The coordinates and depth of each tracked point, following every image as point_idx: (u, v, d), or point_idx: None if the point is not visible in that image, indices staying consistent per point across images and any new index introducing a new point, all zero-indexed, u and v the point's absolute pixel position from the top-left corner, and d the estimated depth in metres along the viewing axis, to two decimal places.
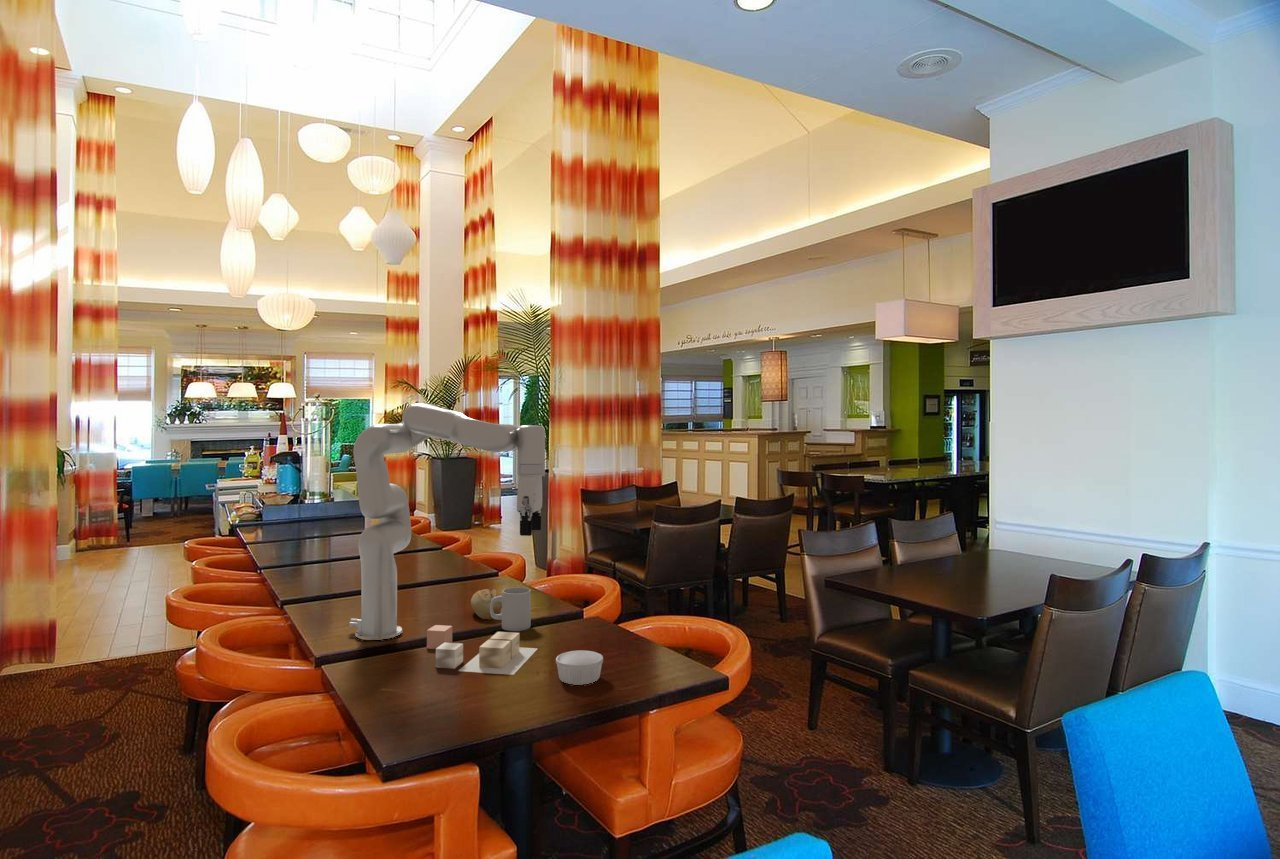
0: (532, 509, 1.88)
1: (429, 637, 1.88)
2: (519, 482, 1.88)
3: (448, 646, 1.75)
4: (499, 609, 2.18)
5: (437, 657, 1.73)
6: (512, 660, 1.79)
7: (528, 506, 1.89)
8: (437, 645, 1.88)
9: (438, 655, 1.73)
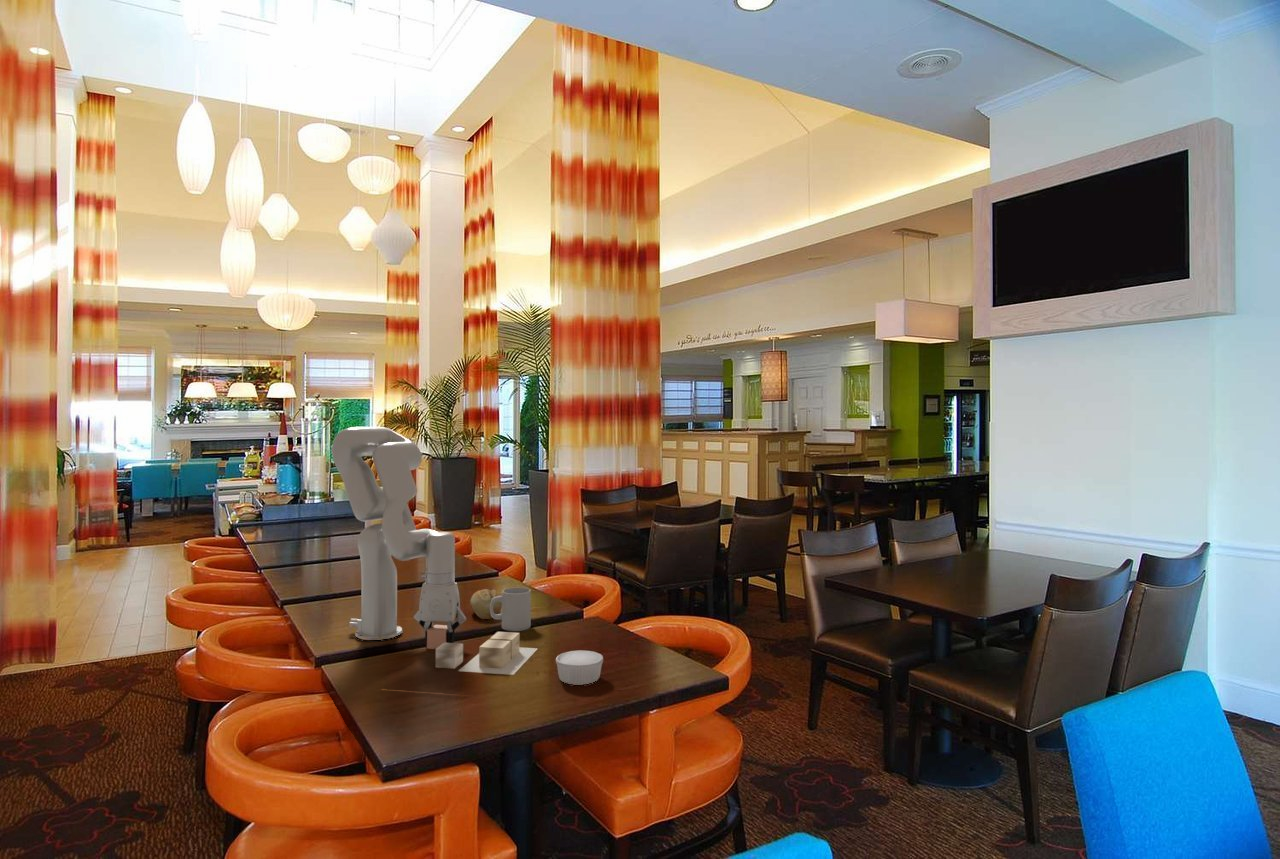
0: None
1: (429, 637, 1.88)
2: (452, 591, 1.88)
3: (448, 646, 1.75)
4: (498, 609, 2.18)
5: (437, 657, 1.73)
6: (512, 660, 1.79)
7: None
8: (437, 645, 1.88)
9: (438, 655, 1.73)
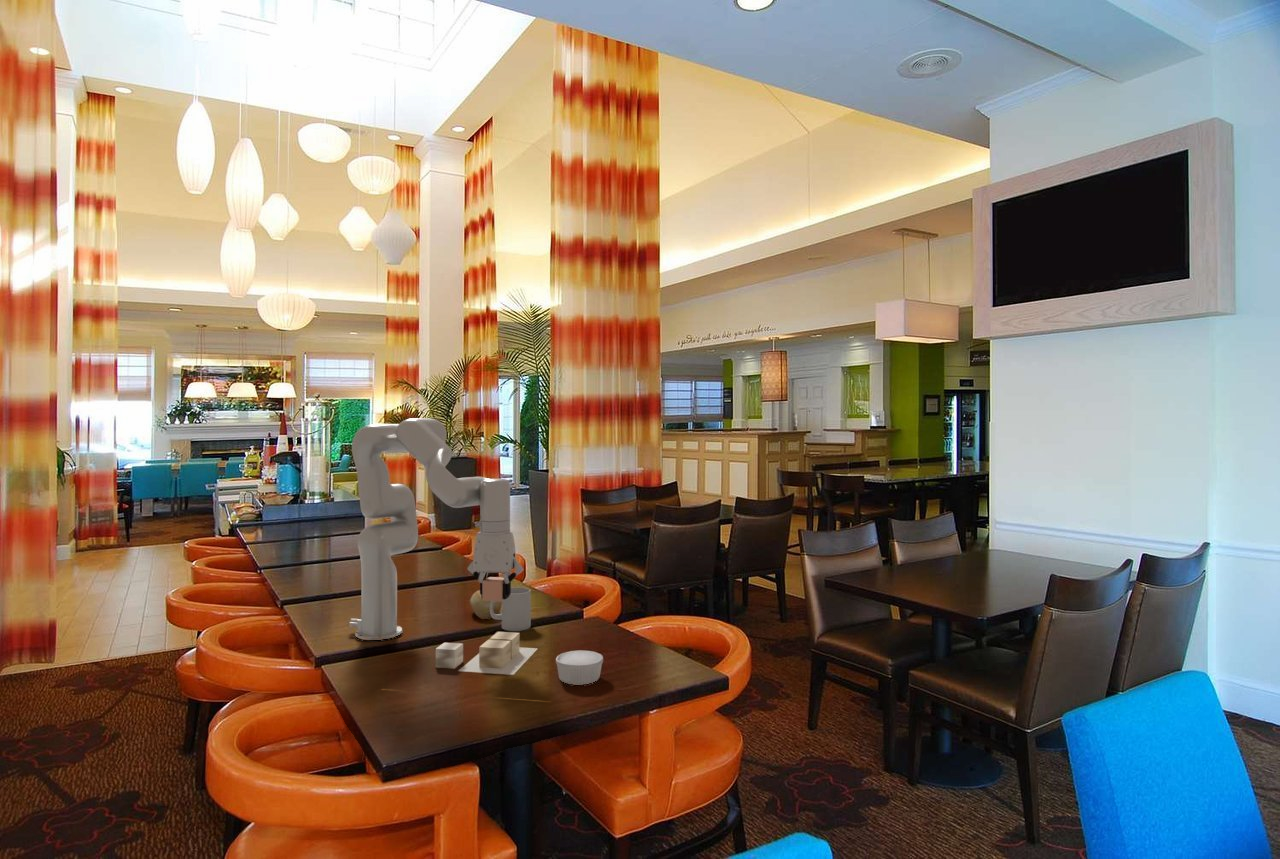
0: None
1: (485, 588, 1.78)
2: (509, 540, 1.78)
3: (448, 646, 1.75)
4: (498, 609, 2.18)
5: (437, 657, 1.73)
6: (512, 660, 1.79)
7: None
8: (493, 596, 1.78)
9: (438, 655, 1.73)
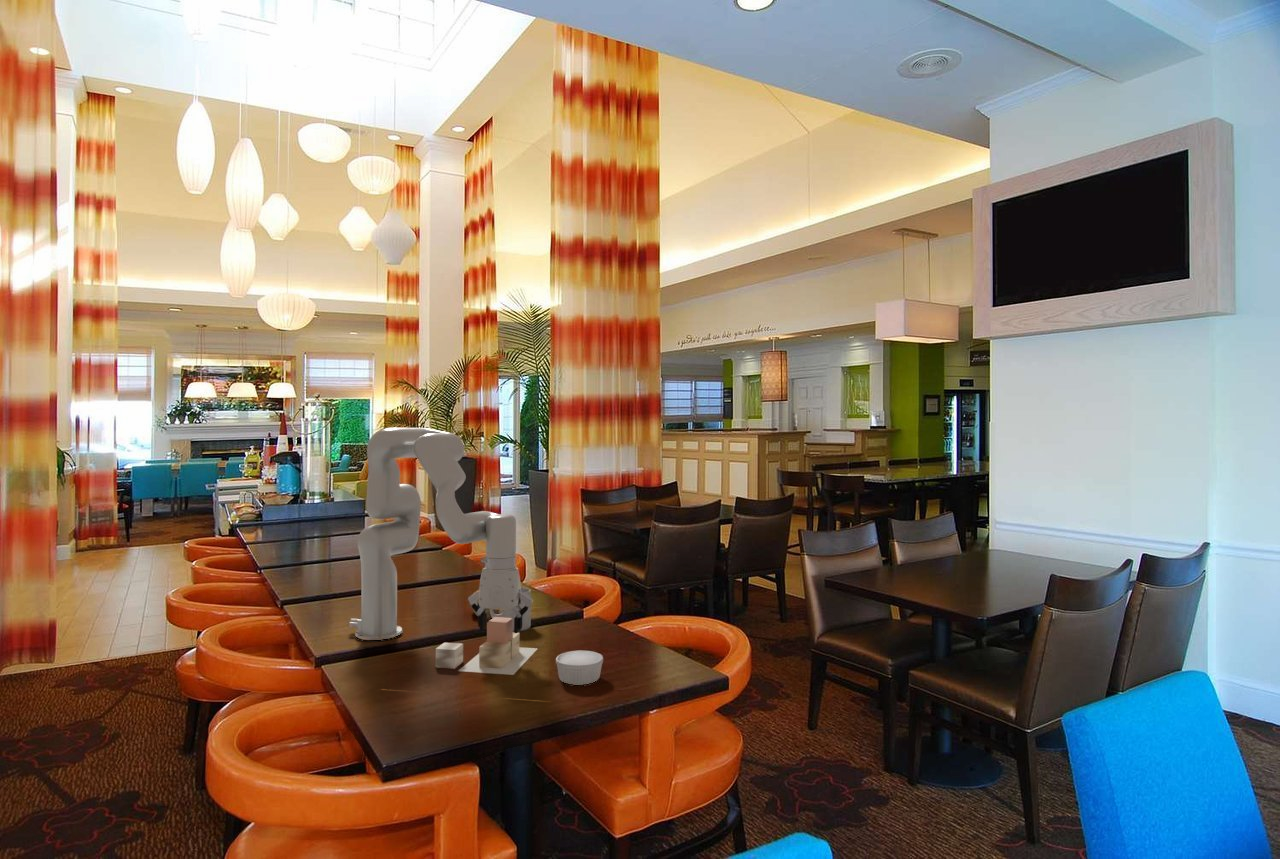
0: None
1: (489, 630, 1.77)
2: (514, 577, 1.77)
3: (448, 646, 1.75)
4: (498, 609, 2.18)
5: (437, 657, 1.73)
6: (512, 660, 1.79)
7: None
8: (498, 638, 1.77)
9: (438, 655, 1.73)
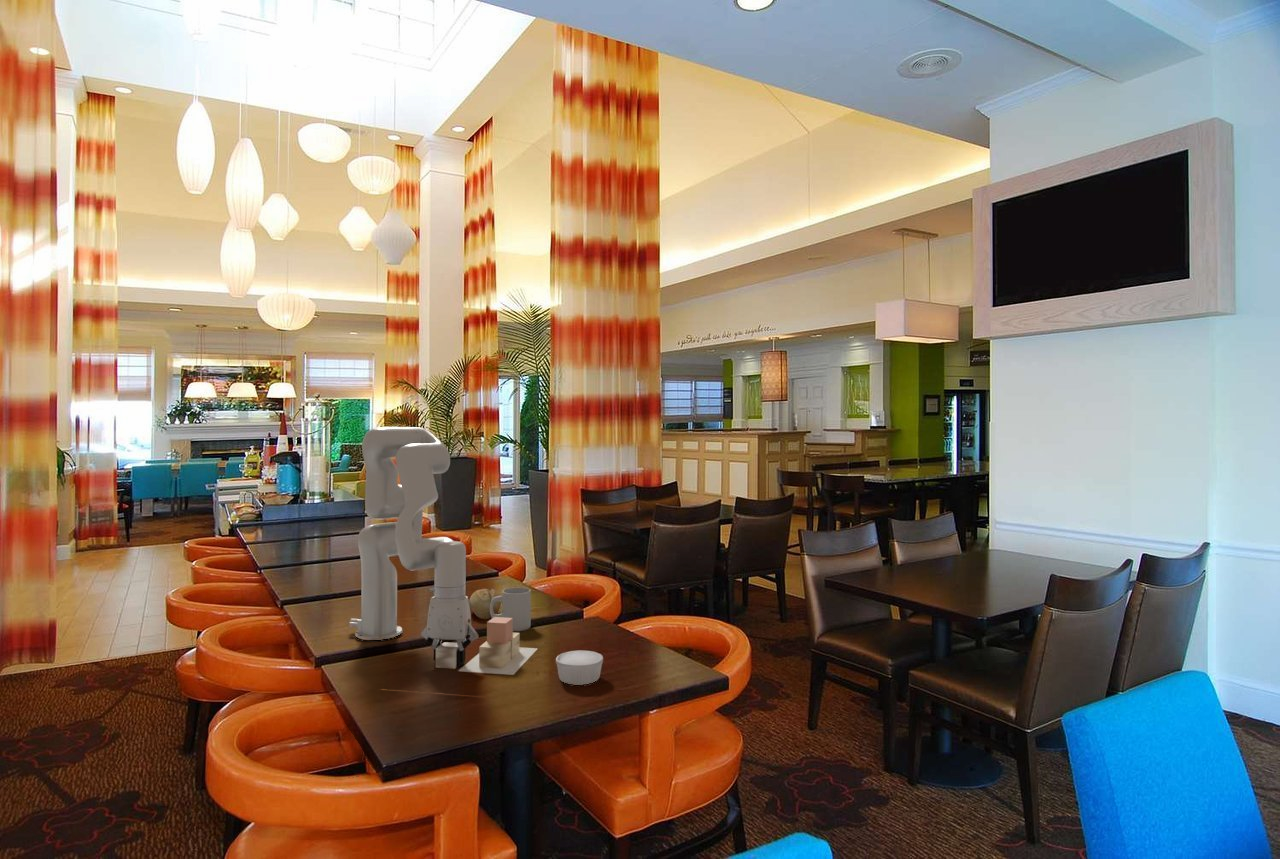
0: None
1: (489, 630, 1.77)
2: (463, 607, 1.73)
3: (448, 646, 1.75)
4: (497, 609, 2.18)
5: (437, 657, 1.73)
6: (512, 660, 1.79)
7: None
8: (498, 638, 1.77)
9: (438, 655, 1.73)
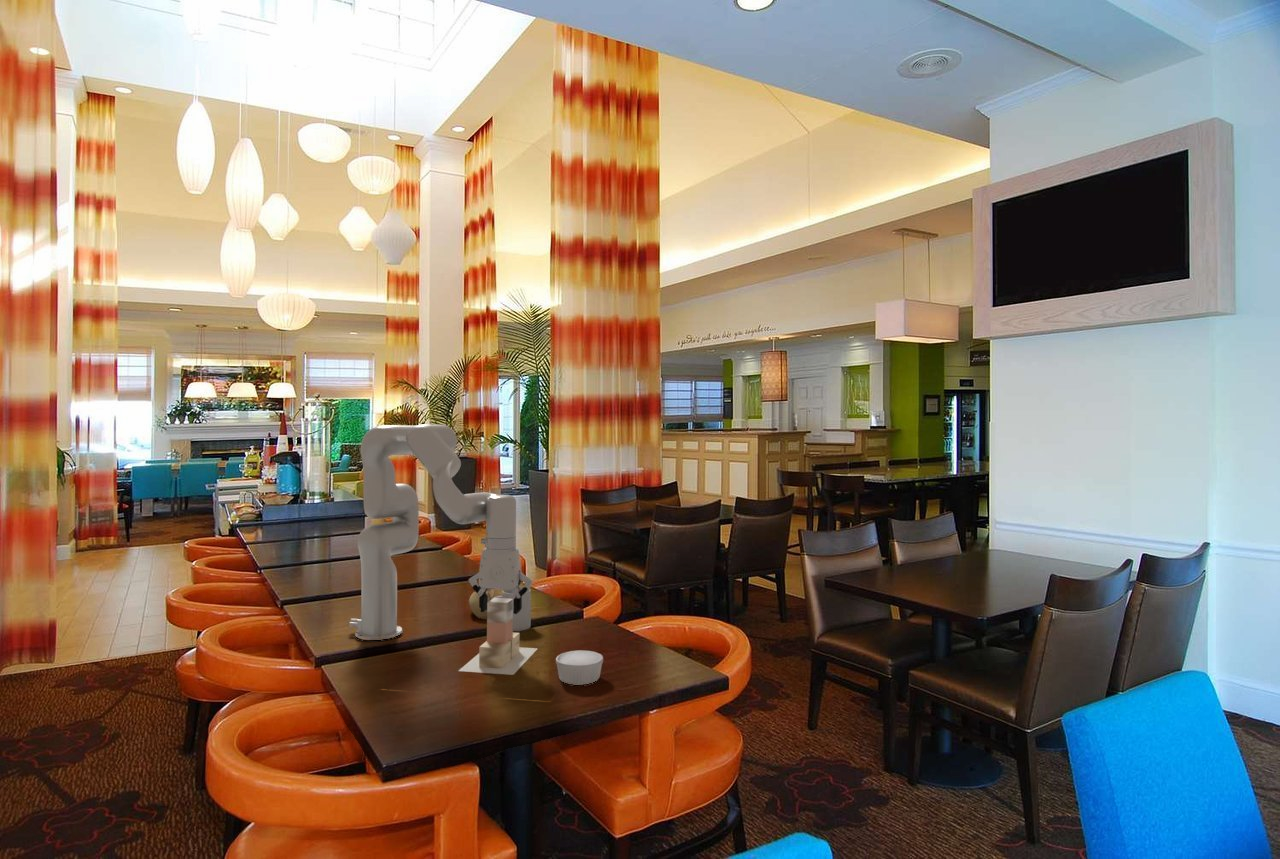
0: None
1: (489, 630, 1.77)
2: (515, 557, 1.77)
3: (499, 601, 1.79)
4: None
5: (489, 611, 1.77)
6: (512, 660, 1.79)
7: None
8: (498, 638, 1.77)
9: (490, 609, 1.77)
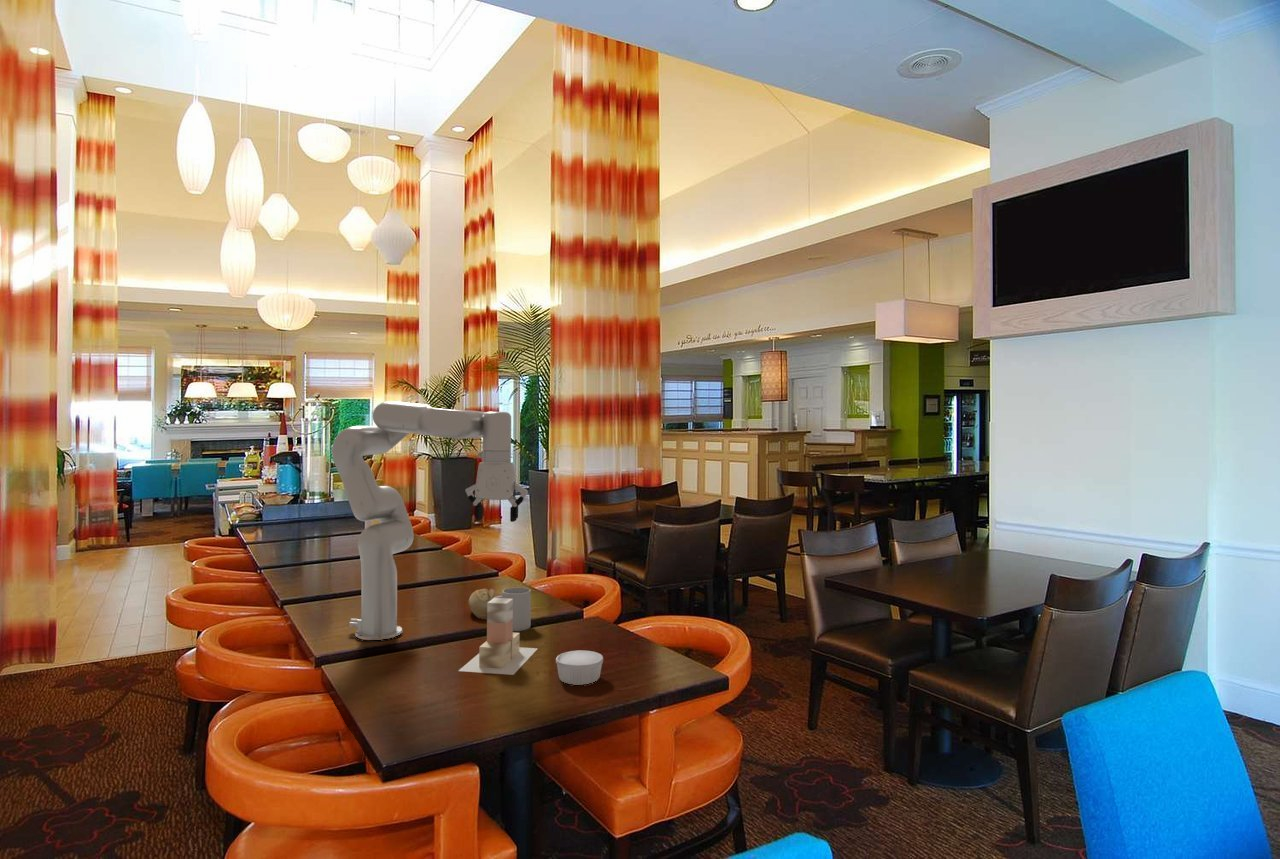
0: None
1: (489, 630, 1.77)
2: (510, 469, 1.87)
3: (499, 601, 1.79)
4: None
5: (489, 611, 1.77)
6: (512, 660, 1.79)
7: None
8: (498, 638, 1.77)
9: (490, 609, 1.77)
